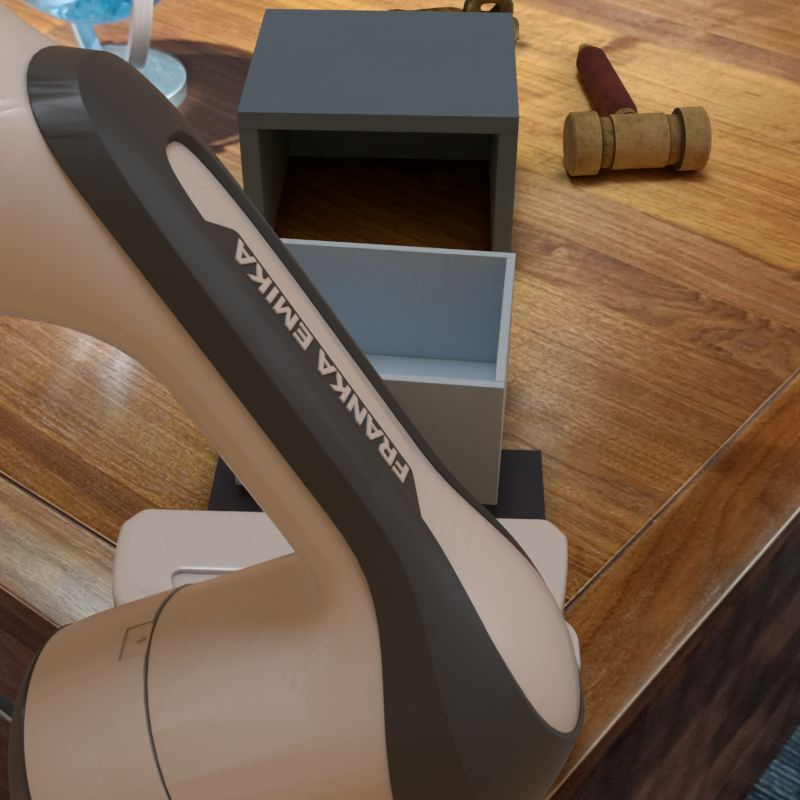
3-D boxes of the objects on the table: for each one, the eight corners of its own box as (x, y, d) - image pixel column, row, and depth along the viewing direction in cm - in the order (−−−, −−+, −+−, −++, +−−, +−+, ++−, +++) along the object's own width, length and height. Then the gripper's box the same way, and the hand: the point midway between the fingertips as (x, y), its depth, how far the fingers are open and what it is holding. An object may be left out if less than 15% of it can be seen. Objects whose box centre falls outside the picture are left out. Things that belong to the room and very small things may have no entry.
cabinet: (249, 263, 91) (236, 111, 83) (274, 149, 103) (265, 8, 95) (509, 269, 90) (519, 116, 83) (504, 154, 102) (512, 12, 95)
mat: (187, 602, 67) (187, 601, 67) (221, 443, 76) (221, 441, 76) (551, 613, 67) (551, 611, 67) (541, 451, 76) (541, 450, 76)
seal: (359, 85, 113) (531, 66, 115) (359, 35, 110) (536, 16, 112) (338, 27, 119) (502, 10, 122) (337, -22, 116) (505, -38, 118)
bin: (216, 561, 69) (201, 431, 64) (277, 359, 82) (268, 237, 77) (490, 584, 68) (498, 454, 62) (507, 376, 81) (515, 252, 75)
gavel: (526, 23, 112) (644, 18, 113) (523, 75, 115) (638, 70, 116) (577, 128, 95) (715, 121, 96) (572, 186, 98) (707, 180, 99)
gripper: (592, 653, 53) (571, 426, 64) (75, 638, 54) (140, 415, 64) (578, 751, 57) (561, 522, 68) (97, 736, 58) (155, 511, 68)
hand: (352, 470), depth 66 cm, fingers closed on bin
